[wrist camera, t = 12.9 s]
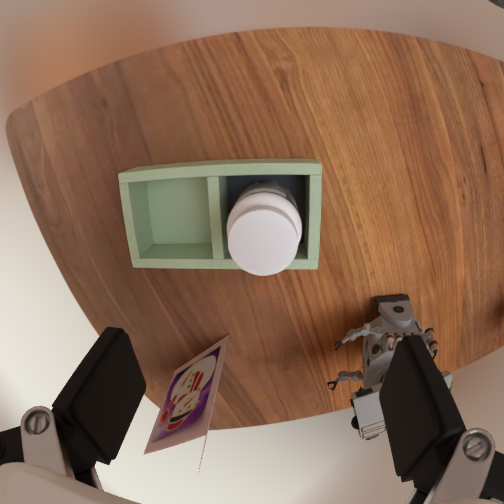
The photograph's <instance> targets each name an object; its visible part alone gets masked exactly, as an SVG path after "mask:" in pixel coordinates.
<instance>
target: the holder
mask: <svg viewBox="0 0 504 504" xmlns="http://www.w3.org/2000/svg"><path fill="white" fill-rule="evenodd" d="M321 174H322V164H321V163H320V162H319V161H317V160H316V159H311V158H259V159H228V160H209V161H193V162H181V163H169V164H159V165H149V166H140V167H136V168H133V169H130V170H127V171H124V172H121V173H118V178H119V183H120V184H119V187H120V195H121V202H122V209H123V215H124V222H125V228H126V234H127V239H128V245H129V250H130V255H131V260H132V265H133V267H135V268H188V269H242V268H240V267H239V266H238V265H237V264H236V263H235V262H234V260H233V259H232V257H231V255H230V252H229V249H228V236H227V222H228V218H229V215H230V212H231V210H232V209H233V207H234V205H235V203H236V202H237V200H238V198H239V197H240V195H241V193H242V192H243V191H244V190H245V189H246V188H247V187H248V186H249V185H251V184H252V183H254V182H257V181H261V180H272V181H276V182H279V183H281V184H283V185H284V186H285V187H287V188H288V189H289V190H290V191H291V193H292V194H293V196H294V198H295V200H296V204H297V207H298V211H299V215H300V218H301V223H302V234H301V239H300V242H299V244H298V249H297V253H296V255H295V258H294V259H293V261H292V262H291V263H290V265H289V266H288V267H286V268H285V269H318V259H319V242H320V221H321V189H322V175H321Z"/></svg>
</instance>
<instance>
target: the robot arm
mask: <svg viewBox="0 0 504 504" xmlns="http://www.w3.org/2000/svg"><path fill="white" fill-rule="evenodd" d="M145 390H146V382H145V379H144V377H143V374H142V372H141V369H140V366H139V364H138V361H137V358H136V356H135V353H134V350H133V347H132V344H131V341H130V338H129V336H128V334H127V333H125V331H124V330H123V329H122V328H115V327H107V328H106V329H105V330H104V331H103V333H102V334H101V335H100V337H99V338H98V339H97V341H96V342H95V343H94V345H93V346H92V348H91V349H90V350H89V352H88V353H87V355H86V356H85V357H84V359H83V360H82V362H81V363H80V364H79V366H78V367H77V369H76V370H75V372H74V373H73V374H72V376H71V378H70V379H69V380H68V382H67V383H66V385H65V386H64V388H63V389H62V391H61V392H60V394H59V395H58V397H57V398H56V400H55V401H54V403H53V404H52V407H53V409H52V410H51V411H50V409H48V408H47V407H43V406H35V407H33V408H31V409H29V410H28V411H27V412H26V413H25V414H24V415H23V417H22V420H21V426H18V427H15V428H12V429H9V430H6V431H2V432H0V504H140V503H136V502H133V501H130V500H127V499H124V498H121V497H118V496H115V495H112V494H110V493H107V492H104V490H103V488H102V485H101V483H100V480H99V478H98V475H97V472H96V469H95V467H94V466H95V464H96V461H99V462H101V463H104V464H107V465H109V464H110V462H111V460H114V459H115V458H116V456H117V454H118V452H119V449H120V447H121V445H122V442H123V440H124V438H125V435H126V433H127V431H128V428H129V426H130V424H131V422H132V419H133V417H134V415H135V413H136V410H137V408H138V406H139V404H140V401H141V399H142V397H143V395H144V393H145ZM379 401H380V405H381V409H382V413H383V417H384V421H385V425H386V429H387V434H388V438H389V442H390V447H391V452H392V456H393V461H394V466H395V471H396V474H397V476H401V481H402V482H406V481H410V480H413V482H414V487H415V489H414V490H413V492H412V494H411V495H410V497H409V498H408V500H407V501H406V503H405V504H504V454H502V453H500V452H497V451H495V442H494V439H493V437H492V436H491V434H490V433H489V432H487V431H486V430H484V429H480V428H472V429H469V430H466V428H465V425H464V422H463V420H462V418H461V415H460V413H459V411H458V408H457V406H456V404H455V401H454V399H453V397H452V395H451V392H450V390H449V388H448V386H447V384H446V382H445V380H444V377H443V375H442V373H441V372H440V371H439V370H438V369H437V367H436V365H435V363H434V361H433V359H432V357H431V355H430V353H429V351H428V349H427V347H426V345H425V343H424V341H423V339H422V337H421V336H420V335H411V336H404V337H403V338H402V340H401V341H398V343H397V345H396V348H395V351H394V354H393V357H392V360H391V363H390V365H389V368H388V371H387V373H386V376H385V379H384V381H383V384H382V386H381V389H380V392H379Z"/></svg>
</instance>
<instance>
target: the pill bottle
mask: <svg viewBox="0 0 504 504" xmlns="http://www.w3.org/2000/svg"><path fill="white" fill-rule="evenodd" d="M301 234H302V223H301V218H300V215H299V211H298V207H297V204H296V200H295V198H294V196H293V194H292V193H291V191H290V190H289V189H288V188H287V187H285V186H284V185H283V184H281V183H279V182H276V181H272V180H261V181H257V182H254V183H252V184H251V185H249V186H248V187H247V188H246V189H245V190H244V191H243V192H242V193H241V195H240V197H239V198H238V200H237V202H236V203H235V205H234V207H233V209H232V210H231V212H230V215H229V218H228V222H227V236H228V249H229V252H230V255H231V257H232V259H233V260H234V262H235V263H236V264H237V265H238V266H239V267H240V268H242V269H243V270H245V271H246V272H249V273H251V274H254V275H261V276H266V275H272V274H276V273H278V272H280V271H282V270H284V269H285V268H286V267H288V266H289V265H290V263H291V262H292V261H293V259H294V258H295V255H296V253H297V249H298V244H299V242H300V239H301Z"/></svg>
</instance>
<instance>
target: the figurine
mask: <svg viewBox="0 0 504 504" xmlns="http://www.w3.org/2000/svg"><path fill="white" fill-rule="evenodd" d="M374 307H375V309H376V310H377V311H379V312H380V314H381V315H380V316H378V317H377V318H376V319H374V320H373V321H372V322H370V323H369V324H368V323H365V324H364V325H363V327H359V328H357V329H351V330H349V331H348V332H347V334H346V337H345V338H343V339H342V341H336V343H335V345H336V344H337V343H338V344H339V345H338V347H337V349H334V350H336V351H338V349H339V347H340V346H341V345H342V344H344V343H345V342H347V341H348V340H350V341H353V340H355V339H356V338H357V337H358V336H361V335H363V336H364V340H363V349H362V352H363V374H362V373H361V371H359V370H357V371H355V373H354V372H347V371H341V372H339V373H338V376H339V377H338V378H337V379H336V381H332V382H327V384H328V387H329V384H334V386H333V388H329V389H331V390H333V391H334V389H335V387H336V385H337V383H339V382H340V381H341V380H343V381H345V380H348V379H349V380H352V379H353V380H354V381H359V380H362V381H363V382H364V388H365V389H364V388H363V389H362V388H361V387H360V389H359V391H356V392H353V393H351V397H352V399H350V402H351V405H352V406H353V408H354V414H355V416H354V417H353V419H352V421H351V424H352V426H353V428H355V429H358V432H359V435H360V437H361V439H366V440H370V439H372V438H374V437H377V436H378V435H379V434H380V433H383V432H386V431H387V429H386V425H385V421H384V417H383V413H382V409H381V405H380V401H379V392H380V389H381V386H382V384H383V381H384V379H385V376H386V373H387V371H388V368H389V365H390V363H391V360H392V357H393V354H394V351H395V348H396V345H397V343H398V341H401V340H402V338H403V337H404V336H411V335H420V336H421V337H422V339H423V341H424V343H425V345H426V347H427V349H429V348H430V350H431V353H432V354H435V355H434V356H433V358H432V359H434V358H435V356H436V354H437V353H438V352H439V345H438V342H437V341H436V338H435V335H434V330H433V329H432V328H428V329H426V330H425V334H423V331H422V328H421V325H420V324H419V323H418V322H417V320H416V319H415V318H414V317H413V308H412V306H411V304H410V302H409V297H408V295H402V294H401V295H399V296H397V295H393V296H384V297H380V296H378V297H376V298H375V301H374ZM335 345H334V347H335ZM442 375H443V377H444V380H445V382H446V384H447V386H448V388H449V390H450V391H451V386H452V380H453V376H452V374H451V373H450V372H448V371H447V370H446V371H444V372H442Z"/></svg>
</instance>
